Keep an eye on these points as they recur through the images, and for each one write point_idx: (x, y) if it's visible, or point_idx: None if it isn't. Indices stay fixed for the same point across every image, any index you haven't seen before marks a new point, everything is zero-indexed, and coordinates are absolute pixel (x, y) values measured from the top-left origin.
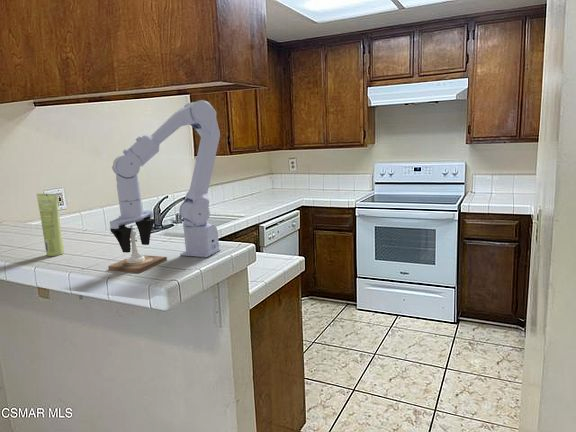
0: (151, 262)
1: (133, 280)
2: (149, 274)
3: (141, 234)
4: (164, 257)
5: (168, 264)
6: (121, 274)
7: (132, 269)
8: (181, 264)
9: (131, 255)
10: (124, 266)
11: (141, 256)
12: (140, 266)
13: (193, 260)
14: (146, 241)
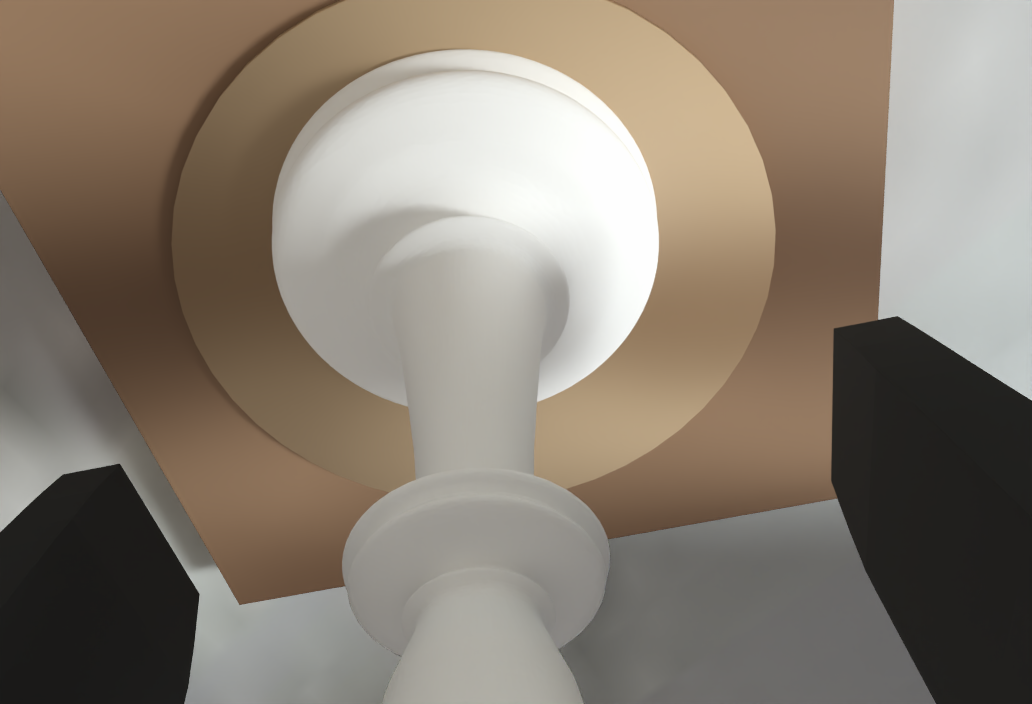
0: None
1: None
2: (282, 670)
3: (1016, 575)
4: (829, 490)
5: (683, 588)
6: (10, 402)
7: (184, 483)
8: (733, 690)
9: (381, 294)
10: (136, 309)
11: (551, 367)
12: (312, 528)
13: (910, 693)
14: (871, 532)
